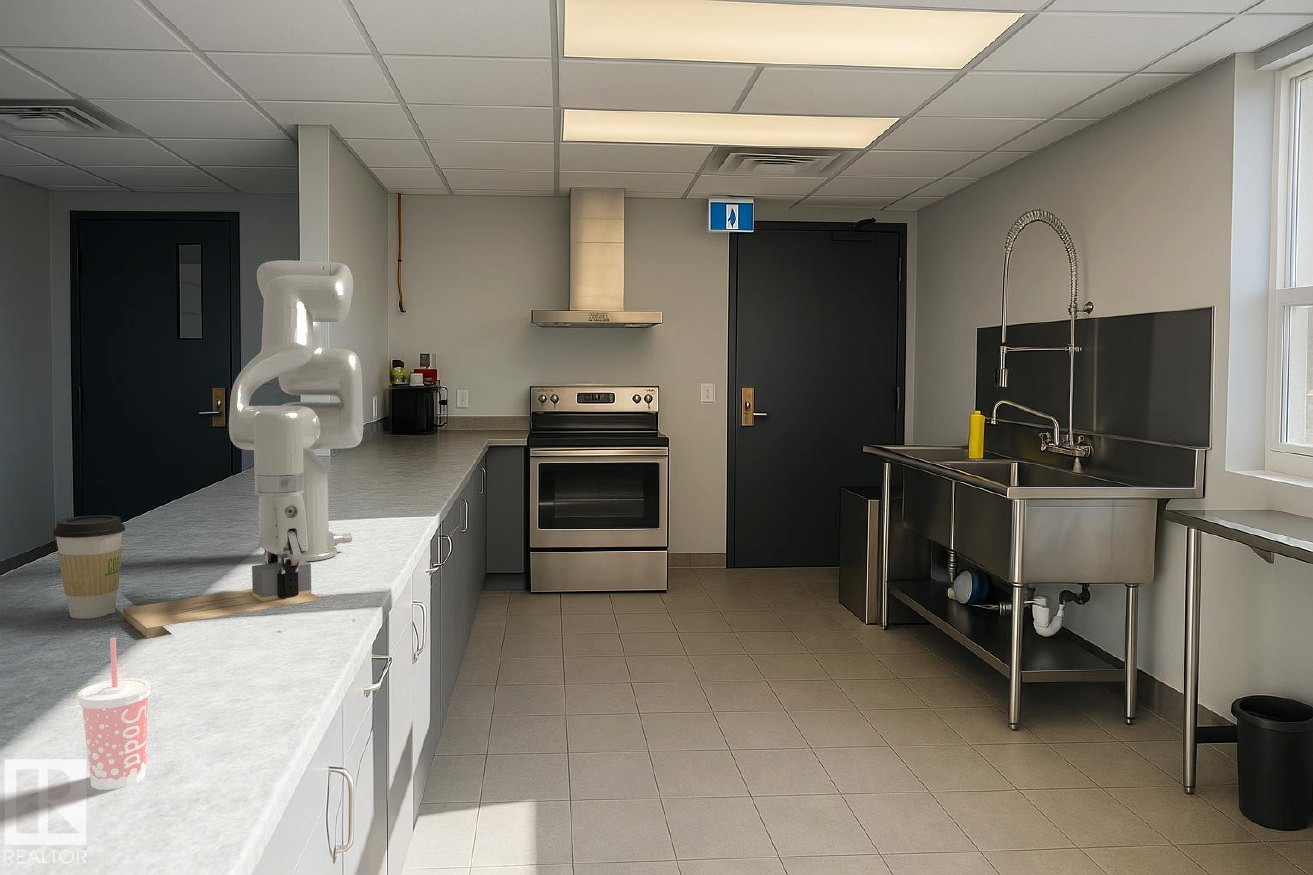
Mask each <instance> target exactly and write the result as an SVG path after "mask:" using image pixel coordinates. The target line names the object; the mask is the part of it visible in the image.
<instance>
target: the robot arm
mask: <svg viewBox="0 0 1313 875" xmlns="http://www.w3.org/2000/svg"><path fill="white" fill-rule="evenodd" d="M256 281H257V282H256V283H257V285H258V289H259V291H260V293H261V296H262V299H263V309H262V310H263V311H262V312H263V313H262V328H261V329H262V332H261V333H262V334H261V348H260V349H261V350H260V352H259V353H258V354H257V355H255V357H253V358H252V359H250V361H249V362H247V364H246V365H245V366H244V367H243V368H242V369H241V371H240V372H239V374H238V375H237V377H236V379H235V380H234V383H233V386H232V389H231V392H230V401H229V402H230V403H229V415H228V432H229V438H230V441H231V442H232V444H233V445H234V446H235V447H236V448H238V449H241V450H246V451H247V450H248V451H253V462H254V466H253V467H254V468H253V469H254V470H253V471H254V494H255V496H258V497H259V498H258V510H257V511H258V516H257V518H258V519H257V521H258V522H257V526H258V529H257V530H258V543H259V547H260V548H261V549H263V550H264V553H263V554H264V564H270V563H277V562H278V563H279V572H280V574H277V586H278V597H279V598H286V597H292V596H297V595H298V593H299V592H298V571H299V567H298V564H299V561H300V560H303V561H305V562H313V561H321V560H326V559H330V558H333V557H335V556H336V555H337V554H338V549H337V548H336V546H338V544H349V543H352V541H353V535H352V534H351V533H350V532H349V533H342V534H341V533H334V532H333V531H332V532H331V531H329V525H330V524H329V481H328V479H329V478H328V477H329V476H328V474H329V473H328V469H327V467H326V465H325V463H324V461H322V460H321V459H320V457H319V456H318V455H317V454H316V453H315V452H314V451H315V450H320V449H321V450H322V449H323V450H324V449H325V450H326V449H329V450H330V449H331V450H332V449H333V450H336V449H337V450H338V449H352V448H356V447H358V446H359V445H360V444H361V442H362V440H363V437H364V436H363V435H364V409H363V407H364V406H363V404H364V403H363V399H364V398H363V375H362V365H361V360H360V358H359V355H358V354H357V353H356V352H354V351H352V350H350V349H348V348H347V349H346V348H325V347H323V339H322V338H323V333H322V331H323V329H322V327H323V326H322V323H342V322H344V321H345V320H346V319H347V317H348V316H349V313H350V309H351V304H352V298H353V292H354V279H353V274H352V272H351V270H350V268H349V266H348V265H346V264H345V263H341V262H335V261H334V262H332V261H309V260H290V259H289V260H288V259H287V260H283V259H282V260H272V261H266V262H263V263H261V264H260V265H259V266H258V268H257V270H256ZM277 378H278V383H279V387H280V389H281V390H282V391H283V392H284V393H286V394H288V395H292V396H293V395H295V396H334V397H336V398H338V399H339V401H335V402H333V401H329V402H327V401H296V402H295V401H293V402H287V403H283V404H281V405H250V400H251V398H252V395H253V394H254V393H255V392H256V390H257V389H258V388H260V387H261V386H262V385H264V384H266V383H267V382H269V381H271V380H273V379H277ZM285 561H286V562H285ZM284 562H285V564H284Z"/></svg>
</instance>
